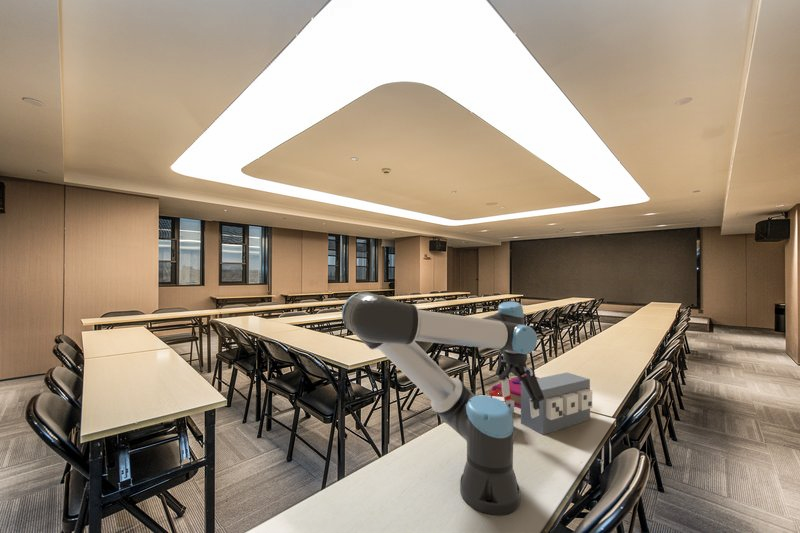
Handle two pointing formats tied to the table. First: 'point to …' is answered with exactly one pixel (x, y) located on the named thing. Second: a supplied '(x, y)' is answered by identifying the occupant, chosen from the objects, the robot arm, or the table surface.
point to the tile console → (552, 388)
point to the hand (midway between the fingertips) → (520, 405)
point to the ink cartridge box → (508, 399)
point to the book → (513, 390)
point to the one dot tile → (570, 403)
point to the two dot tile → (584, 399)
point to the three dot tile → (554, 407)
